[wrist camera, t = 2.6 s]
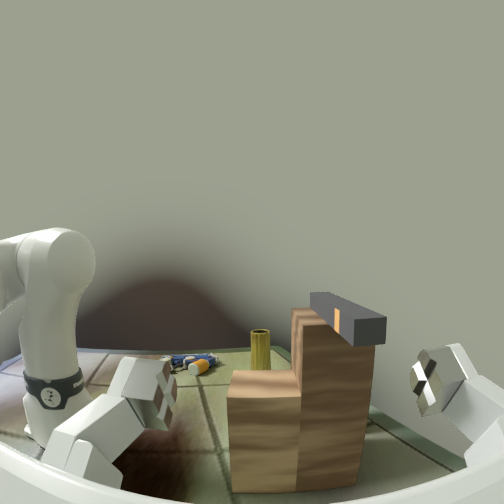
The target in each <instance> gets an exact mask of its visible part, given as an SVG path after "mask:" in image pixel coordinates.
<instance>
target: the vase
mask: <svg viewBox="0 0 504 504" xmlns="http://www.w3.org/2000/svg"><path fill="white" fill-rule="evenodd" d="M251 370H271V361H270V331H269V330H264V329H259V330H253V331H251Z"/></svg>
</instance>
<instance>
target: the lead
mask: <svg viewBox="0 0 504 504" xmlns="http://www.w3.org/2000/svg"><path fill="white" fill-rule="evenodd" d="M310 308H311V309H312V310H313V311H314V312H316V313H317V314H318V315H319V316H320V317H321V318H322V319H323V320H324V321H325V322H326V323H328V324H329V325H330V326H331V327H332V328H333V329H334V330H335V331H336V332H337V333H338V334H340V335H341V336H342V337H343V338H344V339H345V340H346V341H347V342H348V343H349V344H350V345H352V346H353V347H359V346H370V345H379V344H385V341H386V322H387V317H386V316H383V315H381V314H379V313H376V312H374V311H372V310H369V309H367V308H365V307H362V306H360V305H357V304H355V303H353V302H350V301H348V300H346V299H343V298H341V297H339V296H336V295H334V294H332V293H329V292H315V293H310Z"/></svg>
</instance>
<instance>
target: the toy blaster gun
mask: <svg viewBox="0 0 504 504" xmlns="http://www.w3.org/2000/svg"><path fill="white" fill-rule="evenodd" d="M216 358H217V363H216V362H215V360H216ZM160 360H161V361H169V363H170V366H171V371H172V370H173V368H177V367H179V366H182V365H184V369H186V368H188V371H189V373H190V374H191V375H194V376H198V375H200V374H202V373H204V372H205V371H207V370H208V369H209V366H212V365H214V364H219V358H218V356H215V355H213V354H212V353H211V355H210V354H188V355H168V356H162V358H161V359H160ZM173 364H177V365H175V366H174V365H173Z"/></svg>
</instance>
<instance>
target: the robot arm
mask: <svg viewBox="0 0 504 504" xmlns="http://www.w3.org/2000/svg"><path fill="white" fill-rule="evenodd" d="M95 266H96V265H95V254H94V250H93V247H92V245H91V243H90V242H89V241H88V239H87V238H86V237H85V236H84V235H82V234H81V233H79V232H76V231H73V230H69V229H64V228H51V229H46V230H41V231H36V232H31V233H26V234H22V235H19V236H15V237H12V238H8V239H4V240H1V241H0V314H1V313H2V312H3V310H5V309H6V308H7V307H8V306H10V305H11V304H13V303H14V302H16V301H18V300H19V299H21V298H23V297H25V304H24V313H23V319H22V322H21V324H20V327H19V338H20V345H21V352H22V358H23V364H24V371H23V374H24V383H25V385H26V390H27V391H28V392H27V394H26V395H25V397H24V398H23V403H24V408H25V413H26V417H27V421H28V425H27V426H26V427H25V429H24V431H25V435H27V436H28V437H30V438H32V439H34V440H35V441H36V442H37V443H38V444H39V445H40V446H41V447H43V448H45V451H44V454H43V456H42V459H41V461H39V460H36V459H34V458H32V457H30V456H28V455H26V454H24V453H22V452H20V451H18V450H16V449H14V448H12V447H10V446H8V445H7V444H5V443H3V442H1V441H0V504H192V503H184V502H178V501H171V500H165V499H160V498H155V497H150V496H145V495H140V494H136V493H132V492H128V491H124V490H120V487H121V483H122V479H123V475H122V473H121V472H120V471H119V470H118V469H117V468H116V467H115V466H114V465H113V464H112V462H113V461H114V460H115V459H116V458H117V457H118V456H119V455H120V454H121V453H122V452H123V451H124V450H125V449H126V448H127V447H128V446H129V445H130V444H131V443H132V442H133V441H134V440H135V439H136V438H137V437H138V436H139V435H140V434H141V433H142V432H143V431H144V430H145V428H149V429H158V430H167V431H169V428H170V423H171V419H172V415H173V414H172V412H171V410H170V407H171V406H173V405H174V404H175V402H176V397H177V384H176V380H175V377H174V376H173V375H171V374H170V372H171V366H170V363H169V361H161V360H151V359H143V358H134V357H124V358H123V359H122V360H121V362H120V364H119V366H118V368H117V371H116V373H115V375H114V378H113V380H112V382H111V385H110V387H109V390H108V392H107V394H102V395H100V396H99V397H98V398H96V399H95V400H93V398H91V396H90V394H89V393H88V391H87V389H86V388H85V387H84V381H83V380H84V379H83V374H82V371H81V368H80V367H79V365H78V358H77V350H76V339H75V320H76V314H77V309H78V304H79V300H80V297H81V295H82V293H83V291H84V290H85V289H86V288H87V286H88V285H89V284H90V282H91V280H92V278H93V276H94V272H95ZM417 358H418V360H419V362H418V363H417V364H415V365H414V366H413V368H412V371H411V373H410V384H411V388H412V391H413V392H414V393H415V394H417V395H418V399H417V404H418V407H419V409H420V413H421V415H422V417H423V416H428V415H432V414H436V413H441V412H442V414H443V415H444V416H445V417H446V418H447V419H448V420H449V421H450V422H451V423H453V424H454V425H455V426H456V427H457V428H458V429H459V430H460V431H461V432H462V433H463V434H464V435H465V436H466V437H467V438H468V439H469V440H471V442H472V443H473V444H472V445H471V446H470V447H469V448H468V449H467V450H466V451H465V453H464V458H465V461H466V464H467V468H464V469H462V470H459V471H457V472H454V473H452V474H449V475H446V476H444V477H441V478H438V479H435V480H432V481H429V482H426V483H423V484H420V485H416V486H413V487H409V488H406V489H402V490H398V491H394V492H390V493H386V494H382V495H377V496H373V497H368V498H363V499H357V500H351V501H345V502H338V503H331V504H504V390H503V389H502V388H500V387H499V386H497V385H496V384H494V383H493V382H491V381H490V380H488V379H487V378H485V377H484V376H482V375H480V376H478V374H477V372H476V370H475V369H474V367H473V365H472V363H471V361H470V360H469V358H468V356H467V354H466V353H465V351H464V349H463V348H462V346H461V345H460V344H459V343H456V344H451V345H447V346H445V345H444V346H440V347H435V348H429V349H423V350H422V351H421V352H420V353H419V355H418V357H417Z"/></svg>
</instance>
